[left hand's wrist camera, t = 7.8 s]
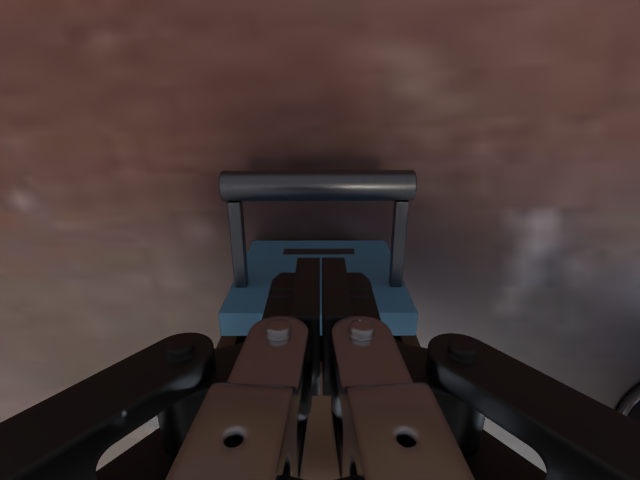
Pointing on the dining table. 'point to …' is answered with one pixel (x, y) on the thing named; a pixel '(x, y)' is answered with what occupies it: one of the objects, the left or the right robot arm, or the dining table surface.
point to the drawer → (281, 256)
